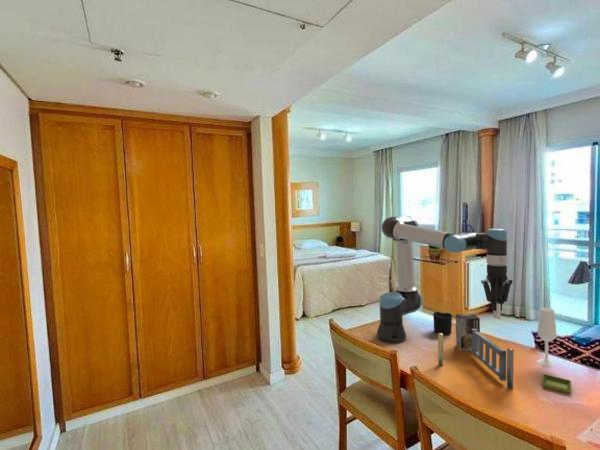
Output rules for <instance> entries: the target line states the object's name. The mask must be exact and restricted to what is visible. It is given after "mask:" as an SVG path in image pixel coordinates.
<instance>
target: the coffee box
mask: <svg viewBox="0 0 600 450" xmlns="http://www.w3.org/2000/svg"><path fill="white" fill-rule="evenodd" d="M480 322H481V321H480V318H479V317H478V316H477V315H476V313H462V314H461V313H457V314H455V336H456V337H455V345H456V347H457V348H458V349H459V351H462V352H472V329H477V331H478V332H479V333H481V330H480V329H481V325H480V324H481V323H480ZM477 351H478V352H479V339H477Z"/></svg>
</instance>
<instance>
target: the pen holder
mask: <svg viewBox="0 0 600 450" xmlns="http://www.w3.org/2000/svg"><path fill="white" fill-rule="evenodd" d="M432 315H433V316H432V317H433V332H434V333H436V334H438V333H442V334H443V336H448V335H451V333H452V322H453V315H452V313H449V312H443V313H442V312H439V311H435V312H433V313H432Z"/></svg>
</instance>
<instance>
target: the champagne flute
mask: <svg viewBox="0 0 600 450" xmlns="http://www.w3.org/2000/svg"><path fill="white" fill-rule="evenodd" d="M536 333H537V335H538V337H540V339H541V340H543V341H544V358H540V359H538V360H536V363H537V364H539V365H541V366H544V367H548V368H553V367H557V364H556V363H555V362H553V361H552V360H551V359H549V342H552V341H554V340H555V339H556V338H557V325H556V315H555V310H554V309H553V308H550V307H541V308H540V310H539V318H538V325H537V332H536Z"/></svg>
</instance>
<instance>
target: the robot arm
mask: <svg viewBox="0 0 600 450" xmlns="http://www.w3.org/2000/svg"><path fill="white" fill-rule="evenodd" d="M381 232H382V234H383V235H384V236H385V237H386V238H388V239H392V240H393V242H394V243H395V246H396V248H395V249H396V265H397V268H396V269H397V283H398V286H397V287H396V288H395V291H389V292H384V293H382V294H381V295H380V297H379V326H378V328H377V331H376V338H377V339H378V340H380V341H382V342H384V343H387V344H388V343H389V344H399V343H403V342H406V341H407V332H406V330H405V327H404V323H403V321H404V320H403V316H406V315H409V314H413V313H415V312H417V311H418V310H420V309H421V308H422V306H423V297H422V295H421V293H420V292H419V290H418V288H417V286H415V273H414V269H415V268H414V252H413V243H415V242H416V243H418V244H422V245H427V246H432V247H436V248H440V249H444V250H446V251H447V252H448V253H452V254H457V253H462V252H467V251H471V250H480V251H481V250H484V251H486V274H487V275H486V277H485V279H484V280H483V279H482V280H481V281H480V283H481V285H482V286H483V290H484V294H485V297H486V301H488V302H489V303H491V310H492V314H493V318H495V319H497V320H499V319H501V311H503V305H504V304H505V303H506V302H507V301H508V298H509V293H510V290H511V285H512V284H513V282H514V281H513V280H512V279H509V278H508V275H507V274H508V266H507V263H508V253H507V252H508V237H507V236H508V233H507V230H506V229H504V228H488V229H487V230H486V232H471V231H465V232H463V231H462V232H461V233H460V234H459V233H452V232H447V231H442V230H439V229H433V228H432V229H431V228H427V227H421V226H419V223H418V222H417V220H416V219H415V218H414V217H413V216H411V215H399V216H398V215H397V216H389V217H387V218H385V219H384V220H383V222H382V223H381Z"/></svg>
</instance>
